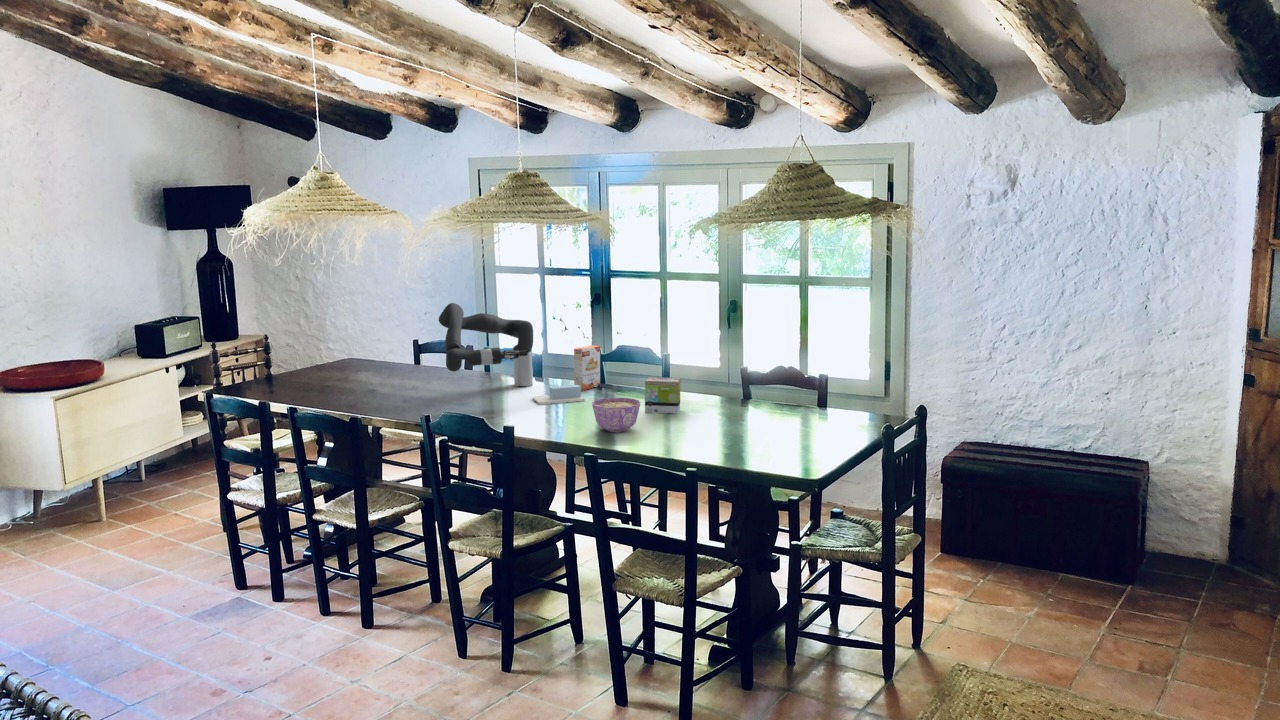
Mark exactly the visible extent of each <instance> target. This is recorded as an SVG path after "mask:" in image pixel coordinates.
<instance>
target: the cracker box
mask: <svg viewBox="0 0 1280 720" xmlns="http://www.w3.org/2000/svg"><path fill="white" fill-rule="evenodd" d="M573 372H574V373H573V376H574V377H573V382H574V383H573V385H579V386H581V392H583V391H587V390H592V389H594V388H593V387H594V386H598V385H594V384H597V383H599V384H600V385H601V346H599V345H586V346H581V347H576V348H573ZM591 388H592V389H591Z"/></svg>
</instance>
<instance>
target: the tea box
mask: <svg viewBox="0 0 1280 720" xmlns="http://www.w3.org/2000/svg"><path fill="white" fill-rule="evenodd" d="M680 409H681V378H680V377H656V376H655V377H653V376H652V377H651V376H650V377H649V376H648V377H647V378H646V380H645V381H644V413H645V414H666V413H678V414H679V411H680Z"/></svg>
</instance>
